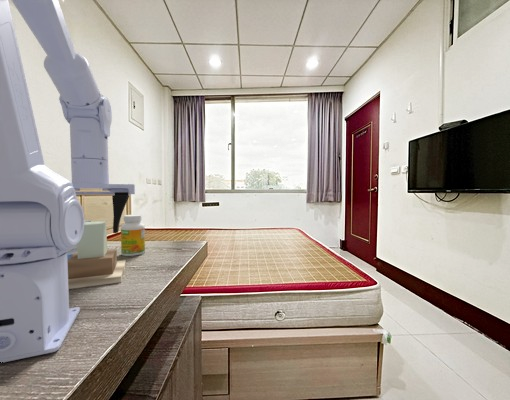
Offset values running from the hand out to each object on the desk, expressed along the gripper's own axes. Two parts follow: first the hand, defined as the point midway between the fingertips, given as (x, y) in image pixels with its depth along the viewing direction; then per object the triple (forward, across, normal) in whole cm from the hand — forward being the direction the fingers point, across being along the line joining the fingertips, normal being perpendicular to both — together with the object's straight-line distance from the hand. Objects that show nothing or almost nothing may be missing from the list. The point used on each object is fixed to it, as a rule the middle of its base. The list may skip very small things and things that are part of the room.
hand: (92, 233), depth 47 cm
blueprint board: (+8, 0, 0) cm, 8 cm away
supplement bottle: (+8, -6, -15) cm, 18 cm away
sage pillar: (+4, 0, 0) cm, 4 cm away
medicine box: (+8, +7, -15) cm, 19 cm away
